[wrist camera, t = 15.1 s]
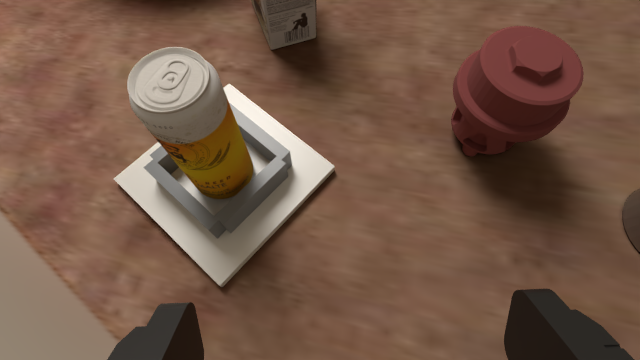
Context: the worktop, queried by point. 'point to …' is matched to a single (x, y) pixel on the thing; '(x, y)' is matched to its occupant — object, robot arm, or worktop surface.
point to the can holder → (235, 212)
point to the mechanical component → (513, 89)
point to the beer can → (191, 119)
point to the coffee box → (286, 20)
